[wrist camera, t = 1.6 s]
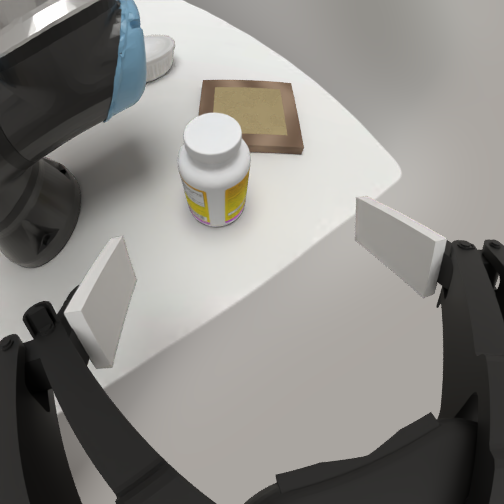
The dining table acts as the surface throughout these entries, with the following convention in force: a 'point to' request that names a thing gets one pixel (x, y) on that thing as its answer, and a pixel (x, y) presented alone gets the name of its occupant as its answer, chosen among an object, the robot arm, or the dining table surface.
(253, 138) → the walnut plinth
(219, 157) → the supplement bottle
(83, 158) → the dining table surface
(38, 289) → the dining table surface
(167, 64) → the ramekin
